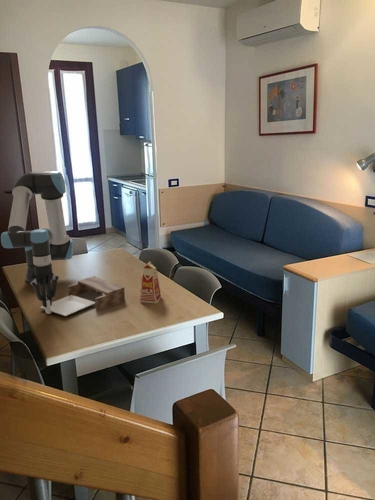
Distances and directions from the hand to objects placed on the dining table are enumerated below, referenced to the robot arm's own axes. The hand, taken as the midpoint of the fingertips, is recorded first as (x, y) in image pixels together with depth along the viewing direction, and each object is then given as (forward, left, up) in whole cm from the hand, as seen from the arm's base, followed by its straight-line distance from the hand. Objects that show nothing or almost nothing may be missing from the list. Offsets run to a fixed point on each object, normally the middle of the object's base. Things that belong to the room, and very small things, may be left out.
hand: (48, 312), depth 190 cm
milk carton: (+21, +44, -1) cm, 49 cm away
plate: (0, +10, -1) cm, 10 cm away
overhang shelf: (0, +26, -1) cm, 26 cm away
